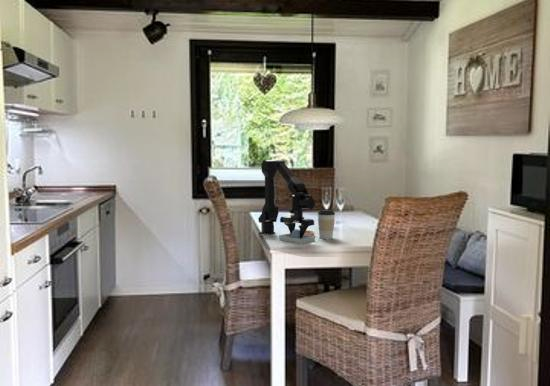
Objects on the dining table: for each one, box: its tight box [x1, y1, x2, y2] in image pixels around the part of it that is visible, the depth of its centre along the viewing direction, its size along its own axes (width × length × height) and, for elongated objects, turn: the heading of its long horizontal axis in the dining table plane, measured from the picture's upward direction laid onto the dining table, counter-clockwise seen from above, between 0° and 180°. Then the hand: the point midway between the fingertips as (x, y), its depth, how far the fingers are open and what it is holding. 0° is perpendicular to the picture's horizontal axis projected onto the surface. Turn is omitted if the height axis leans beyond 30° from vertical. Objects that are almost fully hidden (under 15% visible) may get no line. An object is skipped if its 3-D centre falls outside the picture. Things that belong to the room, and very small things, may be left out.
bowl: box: [304, 230, 315, 236], centre depth 282 cm, size 10×10×2 cm
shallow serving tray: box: [278, 232, 316, 245], centre depth 269 cm, size 15×10×2 cm
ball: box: [291, 228, 300, 239], centre depth 269 cm, size 6×6×6 cm
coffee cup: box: [317, 208, 336, 240], centre depth 276 cm, size 9×9×15 cm
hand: (296, 237), depth 269 cm, fingers closed on ball, 6 cm apart
